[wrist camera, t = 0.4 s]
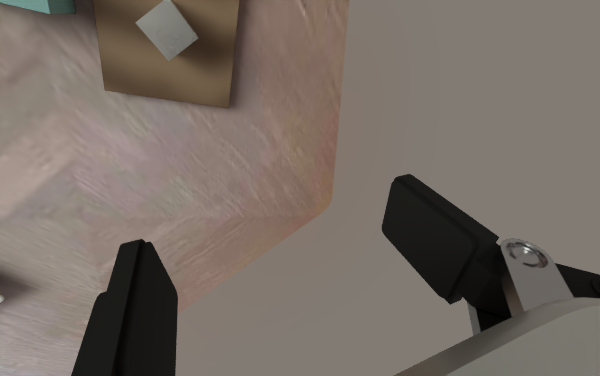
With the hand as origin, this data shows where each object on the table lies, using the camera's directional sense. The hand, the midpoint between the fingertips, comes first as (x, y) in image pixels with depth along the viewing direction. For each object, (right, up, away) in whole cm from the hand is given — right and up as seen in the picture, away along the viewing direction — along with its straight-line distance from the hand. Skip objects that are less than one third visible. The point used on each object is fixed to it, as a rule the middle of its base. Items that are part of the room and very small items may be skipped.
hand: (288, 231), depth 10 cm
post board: (-14, +19, +18) cm, 30 cm away
